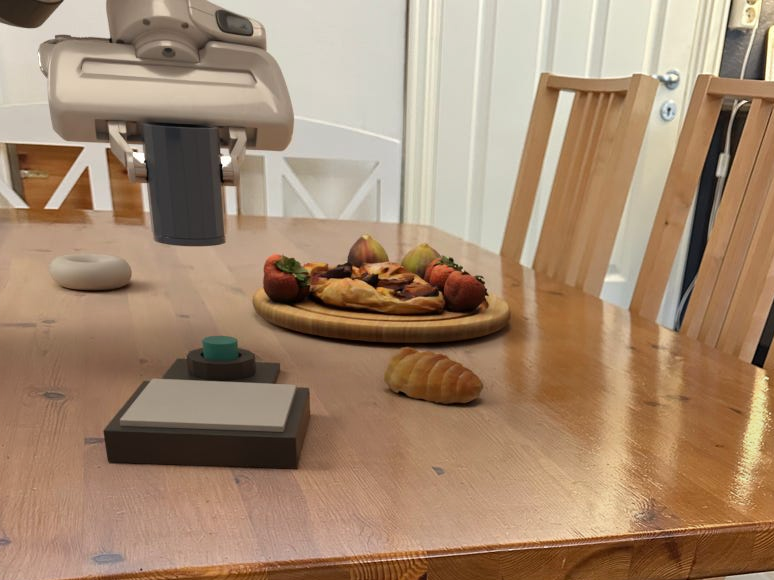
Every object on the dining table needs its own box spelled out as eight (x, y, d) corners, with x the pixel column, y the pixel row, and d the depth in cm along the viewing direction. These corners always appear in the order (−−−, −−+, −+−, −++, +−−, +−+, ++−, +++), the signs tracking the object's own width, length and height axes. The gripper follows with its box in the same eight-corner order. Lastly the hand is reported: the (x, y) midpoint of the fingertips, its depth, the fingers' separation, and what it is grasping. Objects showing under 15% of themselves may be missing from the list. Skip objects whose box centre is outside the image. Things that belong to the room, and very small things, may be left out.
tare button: (201, 362, 86) (199, 343, 86) (207, 353, 89) (205, 334, 88) (236, 363, 87) (234, 344, 86) (241, 355, 90) (239, 336, 89)
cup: (146, 244, 79) (132, 124, 75) (161, 233, 85) (149, 120, 80) (220, 248, 80) (211, 129, 75) (230, 237, 85) (223, 125, 81)
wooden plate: (253, 347, 100) (248, 266, 96) (252, 287, 127) (249, 222, 123) (538, 351, 107) (545, 275, 103) (481, 293, 134) (484, 231, 129)
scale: (107, 462, 69) (101, 423, 68) (147, 409, 81) (142, 374, 79) (297, 469, 71) (295, 430, 69) (310, 415, 82) (309, 381, 80)
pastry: (495, 396, 90) (498, 357, 88) (459, 413, 85) (462, 372, 83) (414, 378, 94) (415, 339, 92) (376, 393, 89) (376, 352, 87)
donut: (50, 279, 124) (53, 293, 116) (45, 251, 122) (49, 263, 114) (129, 278, 127) (137, 291, 120) (125, 251, 126) (134, 263, 118)
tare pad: (160, 390, 85) (157, 363, 84) (177, 367, 92) (175, 341, 91) (271, 395, 86) (269, 368, 85) (280, 371, 93) (279, 346, 92)
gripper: (29, 1, 76) (48, 147, 73) (281, 24, 82) (307, 158, 80) (40, 65, 81) (58, 201, 79) (275, 81, 88) (299, 208, 86)
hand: (186, 180), depth 79 cm, fingers closed on cup, 6 cm apart
